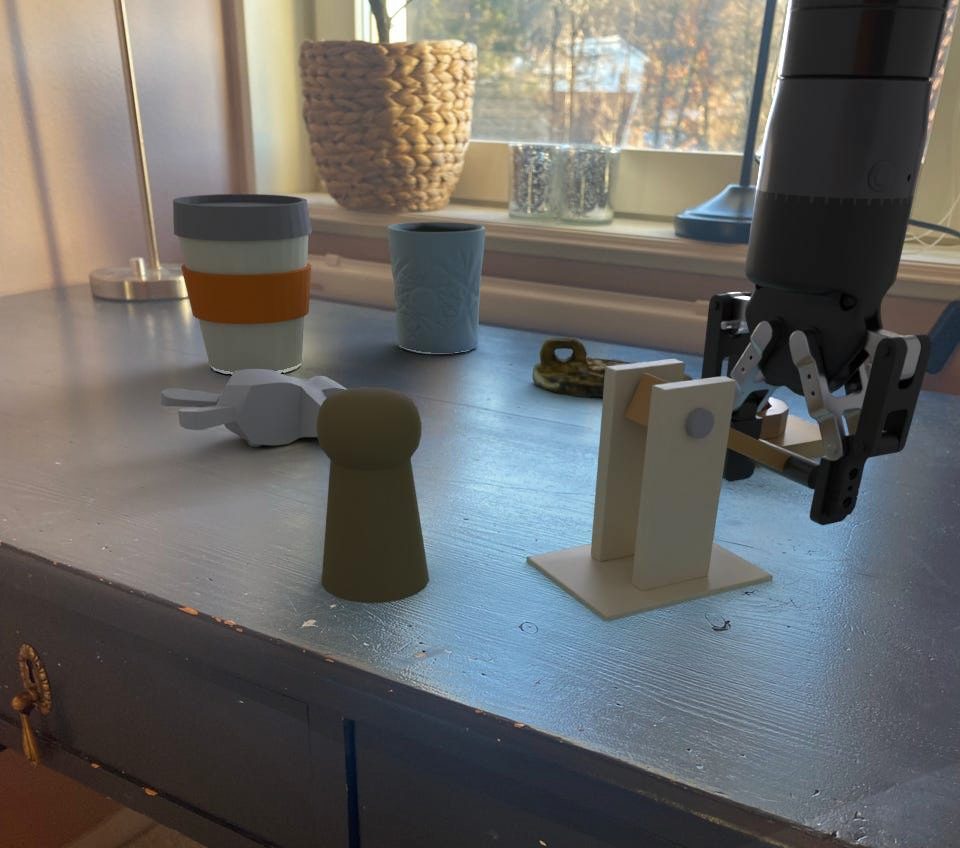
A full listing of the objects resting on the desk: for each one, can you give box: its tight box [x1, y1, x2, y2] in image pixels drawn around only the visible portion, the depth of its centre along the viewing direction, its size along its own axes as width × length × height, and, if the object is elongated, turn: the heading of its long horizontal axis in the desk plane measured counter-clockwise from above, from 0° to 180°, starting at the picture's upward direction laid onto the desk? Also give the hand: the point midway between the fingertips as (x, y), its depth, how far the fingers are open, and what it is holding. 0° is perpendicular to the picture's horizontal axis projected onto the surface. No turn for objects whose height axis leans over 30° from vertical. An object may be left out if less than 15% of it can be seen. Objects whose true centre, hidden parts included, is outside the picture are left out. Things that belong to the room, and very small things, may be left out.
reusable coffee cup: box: [172, 193, 313, 372], centre depth 93 cm, size 13×12×15 cm
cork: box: [317, 386, 430, 604], centre depth 50 cm, size 6×6×11 cm
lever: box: [625, 373, 820, 490], centre depth 52 cm, size 12×5×2 cm, turn 117°
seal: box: [532, 336, 694, 398], centre depth 90 cm, size 9×5×15 cm
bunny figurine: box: [160, 369, 348, 448], centre depth 75 cm, size 10×5×15 cm
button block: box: [755, 396, 826, 469], centre depth 73 cm, size 12×10×4 cm
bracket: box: [525, 358, 774, 623], centre depth 51 cm, size 11×8×12 cm
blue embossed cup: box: [387, 221, 486, 353], centre depth 102 cm, size 10×10×12 cm
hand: (778, 498), depth 56 cm, fingers open, 7 cm apart
